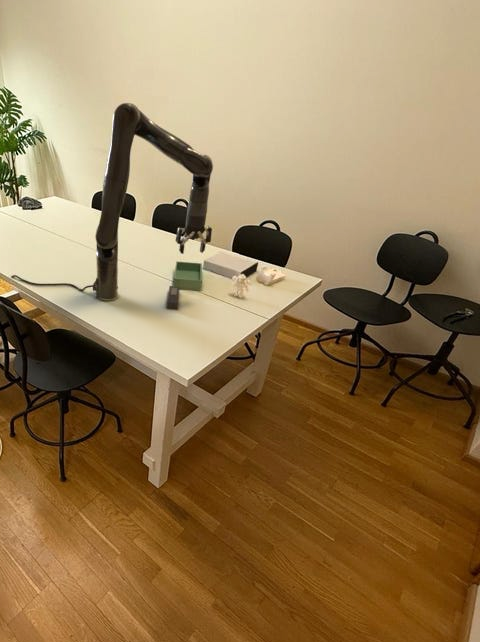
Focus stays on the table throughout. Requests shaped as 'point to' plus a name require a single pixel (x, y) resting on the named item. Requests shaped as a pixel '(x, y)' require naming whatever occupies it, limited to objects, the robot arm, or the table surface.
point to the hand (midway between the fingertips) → (191, 252)
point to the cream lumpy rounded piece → (269, 275)
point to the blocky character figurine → (240, 284)
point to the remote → (173, 297)
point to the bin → (188, 275)
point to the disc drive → (230, 265)
